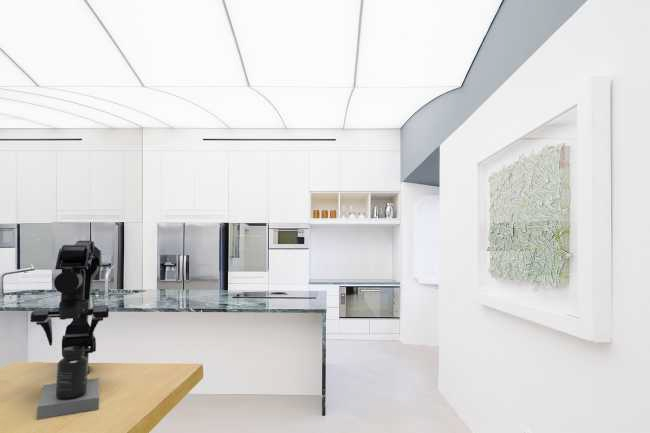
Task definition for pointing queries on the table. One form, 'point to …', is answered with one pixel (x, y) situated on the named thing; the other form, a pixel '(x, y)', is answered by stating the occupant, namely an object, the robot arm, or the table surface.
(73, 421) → the table surface
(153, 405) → the table surface
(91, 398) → the riser block
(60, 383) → the supplement bottle
